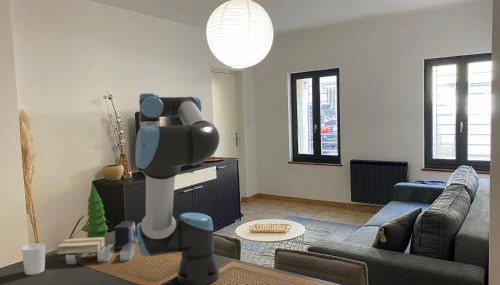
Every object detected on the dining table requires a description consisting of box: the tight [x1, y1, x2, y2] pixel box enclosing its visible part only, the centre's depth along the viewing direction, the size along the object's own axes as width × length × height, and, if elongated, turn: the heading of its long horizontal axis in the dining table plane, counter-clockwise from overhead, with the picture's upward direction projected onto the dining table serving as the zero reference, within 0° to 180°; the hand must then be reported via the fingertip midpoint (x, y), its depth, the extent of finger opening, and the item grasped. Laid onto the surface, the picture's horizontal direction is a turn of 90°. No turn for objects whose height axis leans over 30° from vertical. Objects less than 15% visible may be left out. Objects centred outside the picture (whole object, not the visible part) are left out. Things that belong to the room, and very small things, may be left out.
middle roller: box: [96, 243, 115, 263], centre depth 160 cm, size 10×4×4 cm, turn 5°
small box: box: [114, 220, 137, 251], centre depth 174 cm, size 11×6×10 cm, turn 179°
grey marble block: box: [65, 252, 89, 265], centre depth 159 cm, size 10×4×4 cm, turn 177°
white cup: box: [21, 242, 46, 276], centre depth 147 cm, size 8×8×10 cm
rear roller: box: [119, 242, 136, 262], centre depth 161 cm, size 10×4×4 cm, turn 5°
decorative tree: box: [86, 182, 109, 238], centre depth 175 cm, size 10×9×30 cm
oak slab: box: [56, 236, 106, 255], centre depth 159 cm, size 10×16×3 cm, turn 95°
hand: (152, 190), depth 153 cm, fingers closed
